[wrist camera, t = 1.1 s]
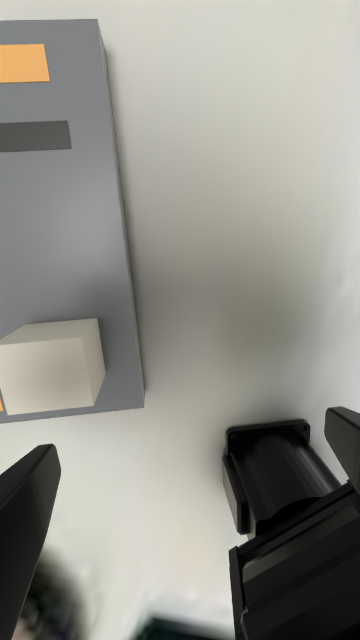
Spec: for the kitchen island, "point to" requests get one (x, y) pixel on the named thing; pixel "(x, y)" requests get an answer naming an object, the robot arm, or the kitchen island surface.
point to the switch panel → (64, 200)
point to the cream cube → (51, 366)
